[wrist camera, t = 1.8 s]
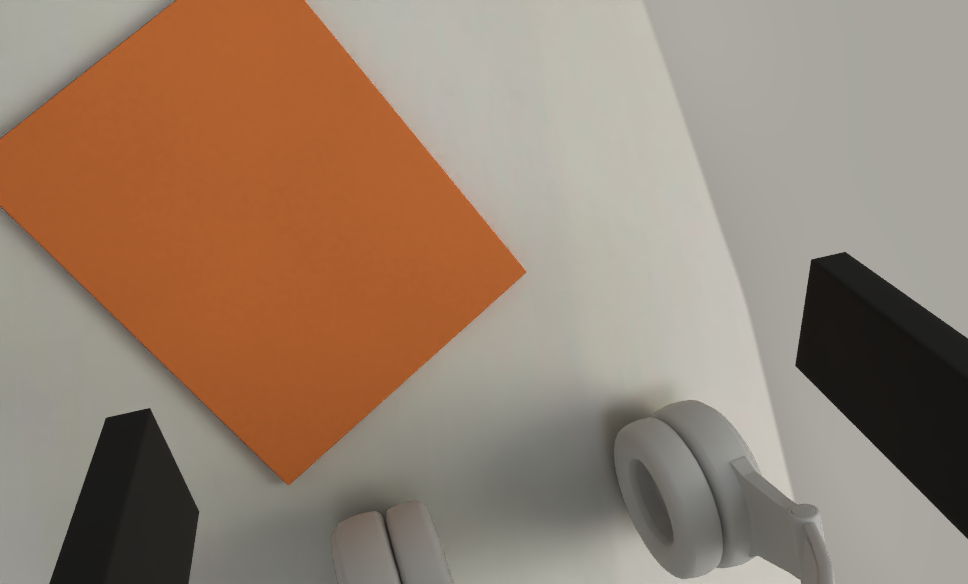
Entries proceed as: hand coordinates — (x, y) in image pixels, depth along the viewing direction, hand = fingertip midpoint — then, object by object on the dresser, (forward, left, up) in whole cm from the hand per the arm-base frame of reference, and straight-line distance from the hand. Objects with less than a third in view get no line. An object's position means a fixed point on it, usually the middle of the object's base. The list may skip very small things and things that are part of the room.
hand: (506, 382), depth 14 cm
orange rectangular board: (-4, -4, -22) cm, 23 cm away
